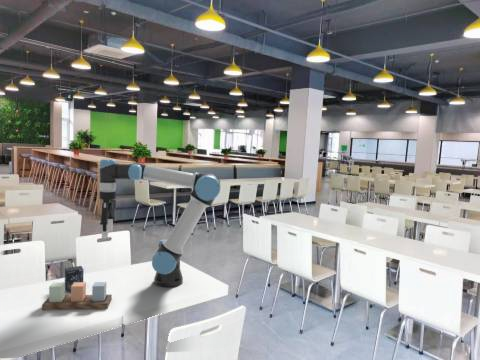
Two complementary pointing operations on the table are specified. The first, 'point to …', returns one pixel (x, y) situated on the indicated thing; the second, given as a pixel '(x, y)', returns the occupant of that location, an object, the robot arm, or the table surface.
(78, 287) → the orange block
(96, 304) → the panel
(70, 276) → the box
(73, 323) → the table surface
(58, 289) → the pale green block
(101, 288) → the slate button
